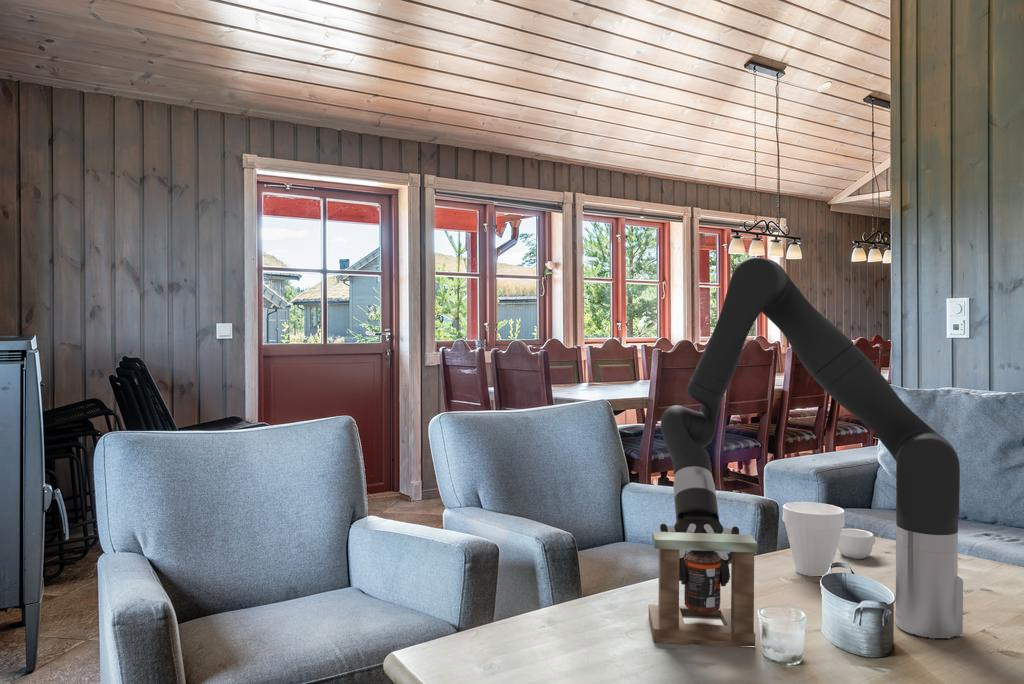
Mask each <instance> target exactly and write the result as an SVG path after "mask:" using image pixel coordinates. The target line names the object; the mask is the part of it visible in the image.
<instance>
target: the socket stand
mask: <svg viewBox="0 0 1024 684" xmlns="http://www.w3.org/2000/svg"><path fill="white" fill-rule="evenodd" d="M651 541H652V545H653V547H654V549H655V550H658V605H657V604H648V621H649V627H650V631H651V636H652V641H653V643H655V644H656V643H657V644H673V645H674V644H675V645H677V644H678V645H694V646H695V645H696V646H697V645H699V646H716V647H732V646H733V647H734V646H740V647H739V648H742V647H741V646H755V647H756V633H755V631H754V629H755V625H754V624H755V553H758V542H757V541H756V540H755V539H754V537H753V536H752V535H751V534H741V533H739V534H711V533H681V532H660V531H652V538H651ZM679 550H688V551H691V550H701V551H725V552H729V553H730V552H731V564H730V565H731V566H730V567H731V569H730V571H731V573H730V581H731V582H730V584H731V585H730V591H731V592H730V598H731V599H730V602H731V603H730V608H726V607H720V608H719V610H717V611H715V612H712V613H702V612H696V611H692V610H690V609H689V608H687V607H686V606H685V605H683V606H681V605H680V581H679ZM734 648H735V647H734Z"/></svg>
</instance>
